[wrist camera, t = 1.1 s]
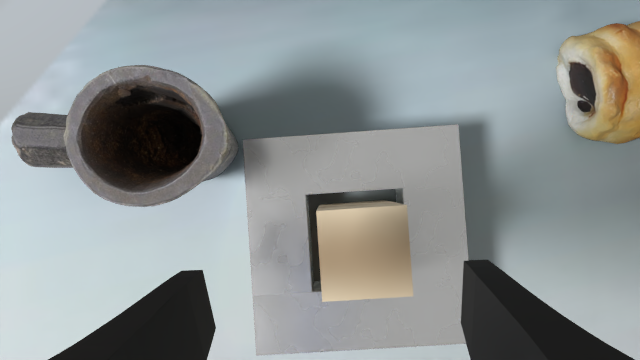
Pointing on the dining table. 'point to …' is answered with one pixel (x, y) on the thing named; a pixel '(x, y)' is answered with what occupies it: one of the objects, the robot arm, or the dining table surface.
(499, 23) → the dining table surface
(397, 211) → the key peg
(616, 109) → the pastry
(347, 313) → the socket block
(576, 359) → the robot arm
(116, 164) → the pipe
